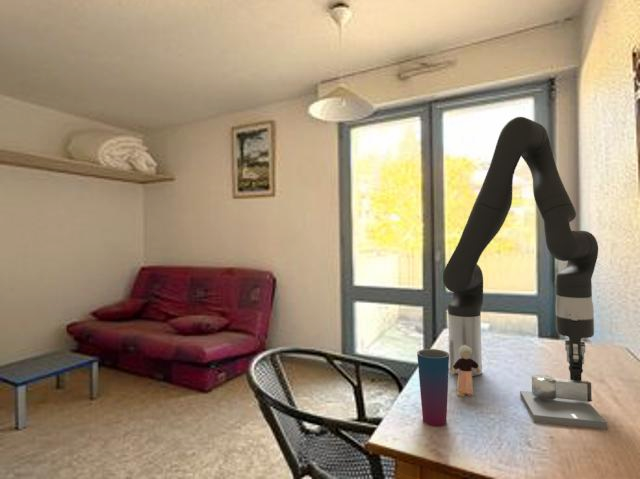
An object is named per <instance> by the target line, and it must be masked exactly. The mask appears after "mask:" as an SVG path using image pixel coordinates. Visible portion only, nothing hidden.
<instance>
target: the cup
mask: <svg viewBox="0 0 640 479" xmlns="http://www.w3.org/2000/svg"><path fill="white" fill-rule="evenodd" d="M416 355H417V356H416V357H417V368H418V377H419V378H418V380H419V381H418V382H419V390H420V391H419V392H420V402H421V414H422V421H423V423H424V424H426V425H427V426H431V427H444V426H445V425H446V424H447V417H448V416H447V415H448V395H449V394H448V391H449V372H450V370H449V351H448V352H447V351H445V350H442V349H436V348H425V349H419V350H417V352H416Z"/></svg>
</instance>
